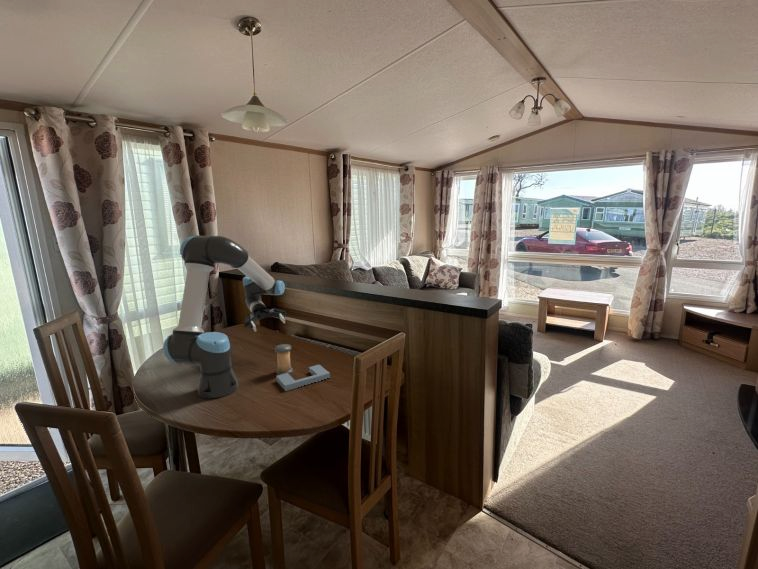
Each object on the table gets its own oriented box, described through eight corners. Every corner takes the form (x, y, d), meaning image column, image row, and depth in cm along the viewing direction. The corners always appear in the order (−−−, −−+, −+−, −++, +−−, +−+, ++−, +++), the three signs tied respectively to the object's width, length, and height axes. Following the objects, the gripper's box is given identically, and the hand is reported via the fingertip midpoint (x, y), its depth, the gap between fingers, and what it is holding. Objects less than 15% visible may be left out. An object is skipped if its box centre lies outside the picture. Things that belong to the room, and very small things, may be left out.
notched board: (285, 391, 144) (285, 385, 144) (276, 381, 153) (276, 375, 153) (330, 378, 155) (329, 373, 155) (319, 369, 164) (319, 364, 163)
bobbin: (279, 376, 157) (277, 351, 155) (274, 371, 163) (272, 346, 161) (295, 372, 161) (293, 347, 159) (289, 367, 167) (287, 343, 165)
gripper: (283, 310, 191) (296, 324, 174) (235, 323, 179) (244, 339, 162) (281, 297, 188) (294, 310, 171) (232, 309, 177) (240, 324, 159)
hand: (270, 324), depth 167 cm, fingers open, 13 cm apart
